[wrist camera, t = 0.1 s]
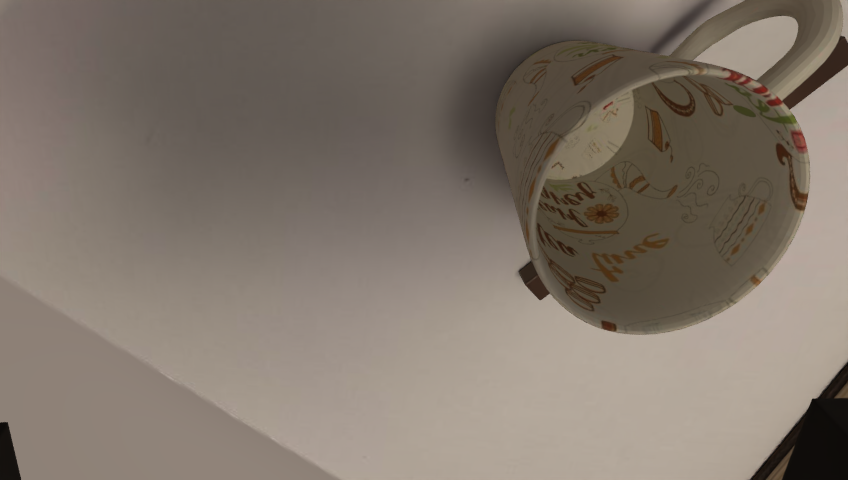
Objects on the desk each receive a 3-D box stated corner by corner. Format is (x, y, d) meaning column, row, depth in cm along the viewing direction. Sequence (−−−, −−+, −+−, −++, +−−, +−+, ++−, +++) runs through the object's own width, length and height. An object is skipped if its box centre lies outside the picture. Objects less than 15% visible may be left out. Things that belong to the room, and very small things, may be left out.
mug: (423, 115, 29) (469, 219, 20) (675, -127, 26) (861, -133, 17) (550, 243, 32) (639, 381, 23) (785, 41, 29) (988, 109, 20)
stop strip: (826, 30, 29) (845, 35, 28) (837, 52, 30) (857, 59, 29) (517, 271, 32) (524, 284, 31) (533, 287, 33) (540, 301, 32)
